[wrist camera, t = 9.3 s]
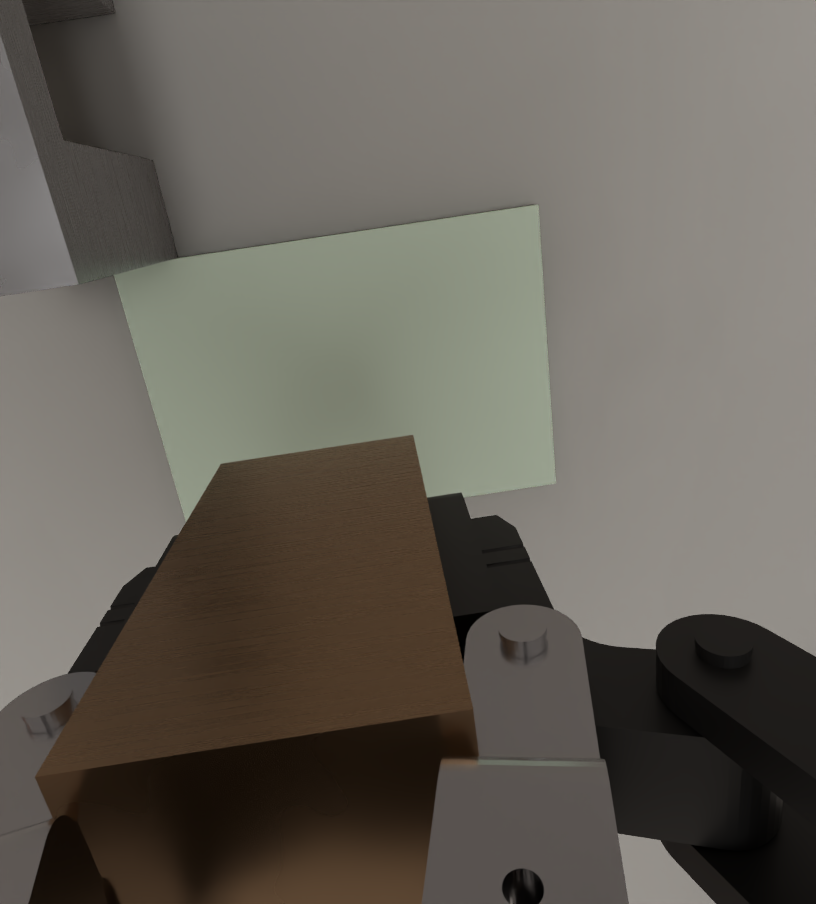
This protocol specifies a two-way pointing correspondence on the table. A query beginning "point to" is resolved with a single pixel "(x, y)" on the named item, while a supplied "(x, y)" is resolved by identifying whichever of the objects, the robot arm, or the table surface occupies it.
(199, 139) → the table surface
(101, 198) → the slotted metal block
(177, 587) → the wooden head mallet
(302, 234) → the table surface
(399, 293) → the mat
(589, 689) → the robot arm
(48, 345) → the table surface
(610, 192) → the table surface
